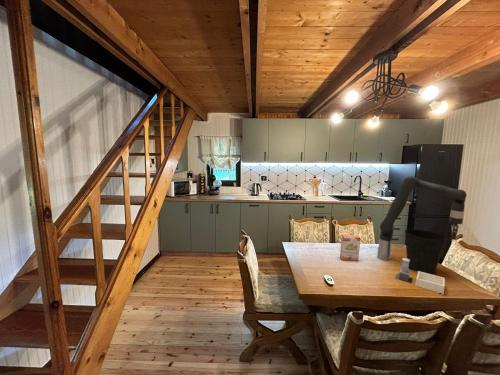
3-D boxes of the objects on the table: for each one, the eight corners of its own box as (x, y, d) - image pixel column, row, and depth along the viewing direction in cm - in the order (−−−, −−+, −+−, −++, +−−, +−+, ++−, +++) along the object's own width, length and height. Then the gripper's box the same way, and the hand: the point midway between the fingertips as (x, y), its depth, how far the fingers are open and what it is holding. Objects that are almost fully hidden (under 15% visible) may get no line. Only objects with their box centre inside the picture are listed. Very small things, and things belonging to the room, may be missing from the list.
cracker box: (341, 260, 204) (343, 236, 201) (339, 257, 210) (341, 234, 207) (358, 261, 202) (360, 237, 200) (356, 258, 208) (358, 235, 206)
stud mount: (394, 279, 173) (395, 273, 173) (396, 274, 181) (397, 268, 181) (411, 284, 167) (412, 277, 167) (412, 279, 175) (413, 272, 174)
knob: (398, 278, 174) (401, 259, 172) (400, 275, 178) (402, 257, 176) (408, 281, 170) (410, 261, 168) (409, 278, 174) (411, 259, 173)
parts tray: (415, 286, 164) (416, 278, 164) (417, 278, 176) (418, 271, 175) (443, 295, 155) (444, 286, 154) (443, 285, 167) (444, 277, 166)
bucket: (424, 279, 175) (429, 239, 171) (392, 263, 201) (396, 228, 197) (451, 275, 182) (457, 237, 178) (417, 260, 208) (421, 226, 205)
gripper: (449, 214, 185) (446, 234, 187) (450, 217, 173) (446, 239, 176) (462, 216, 180) (459, 236, 182) (463, 219, 169) (460, 241, 171)
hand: (453, 237), depth 179 cm, fingers open, 8 cm apart
